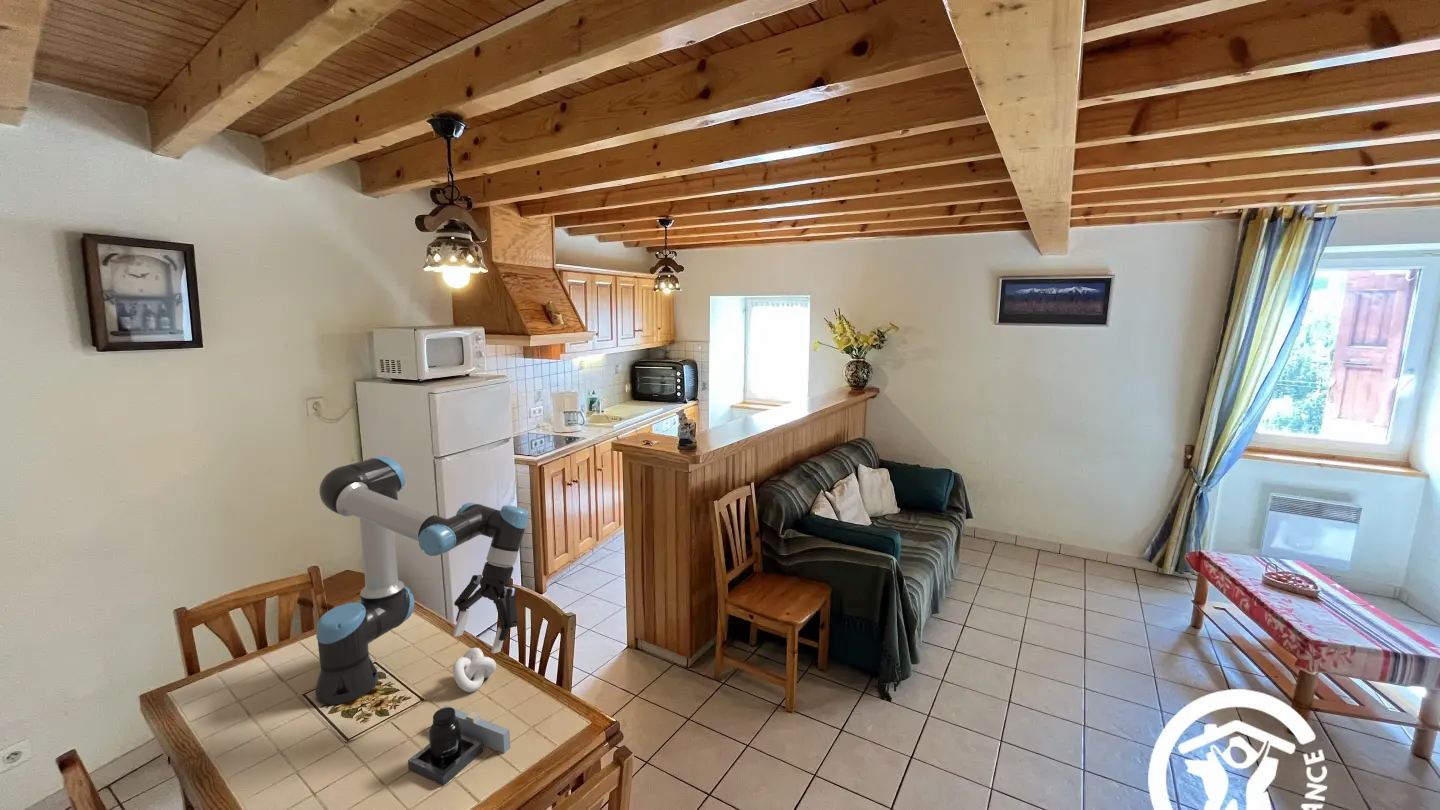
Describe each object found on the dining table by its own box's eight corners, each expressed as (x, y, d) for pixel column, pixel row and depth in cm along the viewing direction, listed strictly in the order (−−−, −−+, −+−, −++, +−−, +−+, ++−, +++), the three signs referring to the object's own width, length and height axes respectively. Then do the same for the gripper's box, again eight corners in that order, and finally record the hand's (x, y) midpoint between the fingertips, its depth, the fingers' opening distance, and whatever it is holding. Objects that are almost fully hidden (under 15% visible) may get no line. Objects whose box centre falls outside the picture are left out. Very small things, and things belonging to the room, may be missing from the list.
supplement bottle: (449, 772, 132) (446, 725, 130) (424, 767, 133) (420, 721, 132) (468, 750, 139) (465, 706, 137) (443, 746, 140) (440, 702, 138)
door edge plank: (440, 727, 147) (438, 705, 146) (446, 722, 149) (445, 700, 148) (504, 753, 138) (502, 730, 138) (510, 747, 140) (509, 725, 139)
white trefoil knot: (498, 667, 173) (496, 640, 172) (495, 691, 162) (494, 663, 160) (457, 674, 169) (456, 647, 168) (452, 699, 158) (450, 670, 157)
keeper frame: (408, 769, 133) (407, 760, 133) (449, 737, 144) (448, 728, 143) (443, 785, 129) (442, 776, 128) (482, 751, 139) (482, 742, 139)
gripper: (544, 575, 151) (521, 656, 148) (476, 551, 161) (453, 626, 158) (526, 577, 144) (502, 662, 141) (456, 551, 154) (431, 630, 151)
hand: (476, 643), depth 149 cm, fingers open, 13 cm apart
